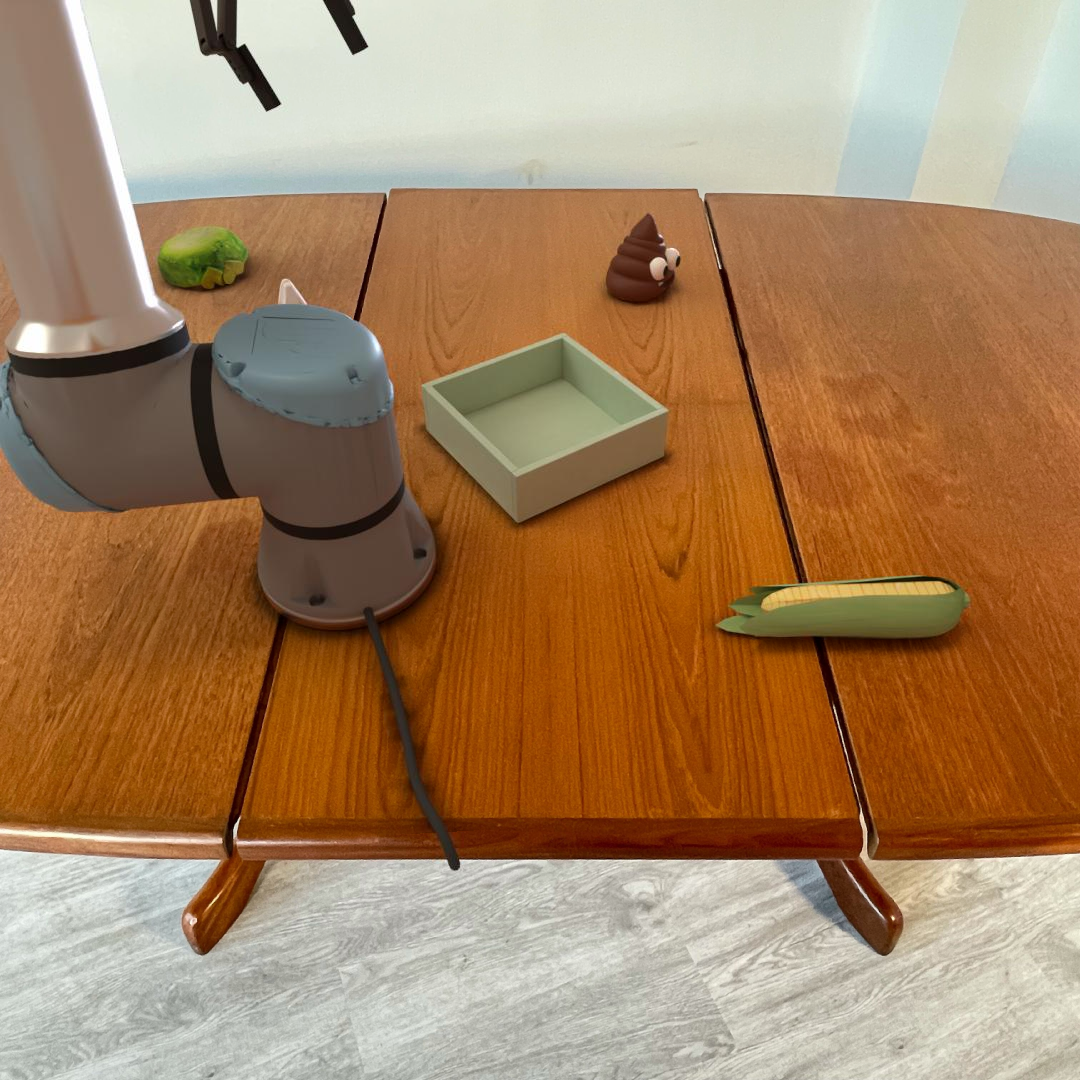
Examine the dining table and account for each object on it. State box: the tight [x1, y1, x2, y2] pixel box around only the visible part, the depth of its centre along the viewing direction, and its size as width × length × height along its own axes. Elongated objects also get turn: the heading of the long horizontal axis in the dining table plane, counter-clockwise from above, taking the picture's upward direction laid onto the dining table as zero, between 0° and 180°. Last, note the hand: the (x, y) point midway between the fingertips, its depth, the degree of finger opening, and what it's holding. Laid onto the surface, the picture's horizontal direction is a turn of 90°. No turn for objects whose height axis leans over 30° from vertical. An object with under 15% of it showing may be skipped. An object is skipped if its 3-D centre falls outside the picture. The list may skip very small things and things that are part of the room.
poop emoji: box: [605, 212, 681, 303], centre depth 111 cm, size 10×8×9 cm
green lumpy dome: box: [156, 225, 249, 290], centre depth 116 cm, size 12×11×5 cm
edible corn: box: [715, 574, 971, 640], centre depth 71 cm, size 5×20×5 cm, turn 92°
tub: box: [420, 332, 670, 524], centre depth 88 cm, size 18×18×6 cm
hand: (318, 79), depth 100 cm, fingers open, 13 cm apart
